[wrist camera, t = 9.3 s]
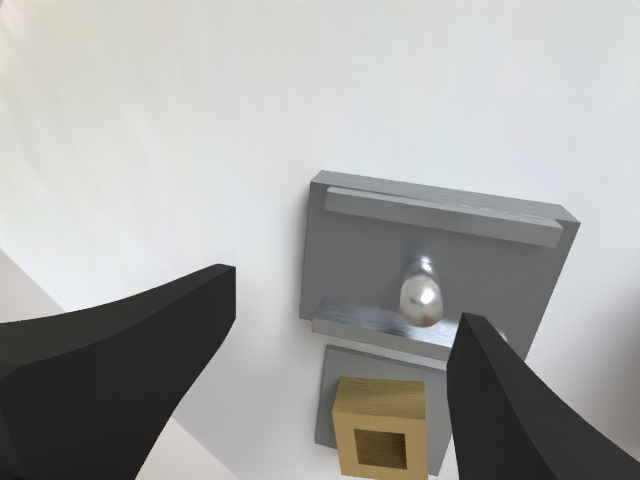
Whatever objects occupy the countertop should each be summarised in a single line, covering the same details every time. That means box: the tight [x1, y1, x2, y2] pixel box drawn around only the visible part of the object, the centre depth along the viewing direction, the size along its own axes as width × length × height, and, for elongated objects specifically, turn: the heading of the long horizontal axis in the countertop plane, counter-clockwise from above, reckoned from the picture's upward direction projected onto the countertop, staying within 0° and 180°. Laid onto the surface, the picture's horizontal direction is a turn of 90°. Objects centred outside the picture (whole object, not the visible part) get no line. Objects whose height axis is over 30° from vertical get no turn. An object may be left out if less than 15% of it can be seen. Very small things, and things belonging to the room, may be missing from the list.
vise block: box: [299, 170, 581, 361], centre depth 19 cm, size 12×8×6 cm, turn 85°
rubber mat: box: [315, 345, 452, 476], centre depth 26 cm, size 9×9×1 cm
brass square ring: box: [332, 377, 428, 480], centre depth 24 cm, size 5×5×3 cm
